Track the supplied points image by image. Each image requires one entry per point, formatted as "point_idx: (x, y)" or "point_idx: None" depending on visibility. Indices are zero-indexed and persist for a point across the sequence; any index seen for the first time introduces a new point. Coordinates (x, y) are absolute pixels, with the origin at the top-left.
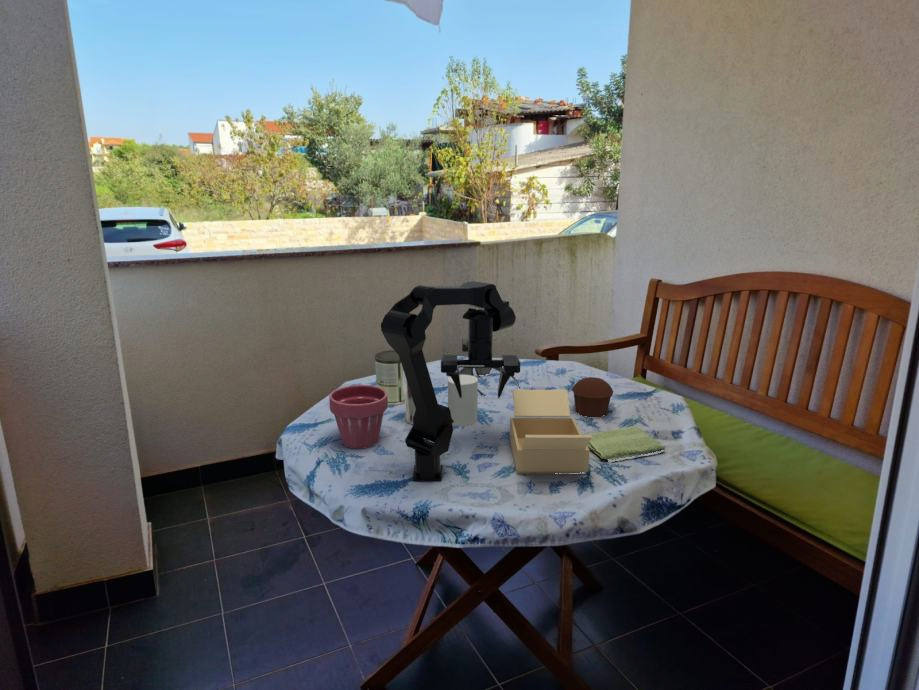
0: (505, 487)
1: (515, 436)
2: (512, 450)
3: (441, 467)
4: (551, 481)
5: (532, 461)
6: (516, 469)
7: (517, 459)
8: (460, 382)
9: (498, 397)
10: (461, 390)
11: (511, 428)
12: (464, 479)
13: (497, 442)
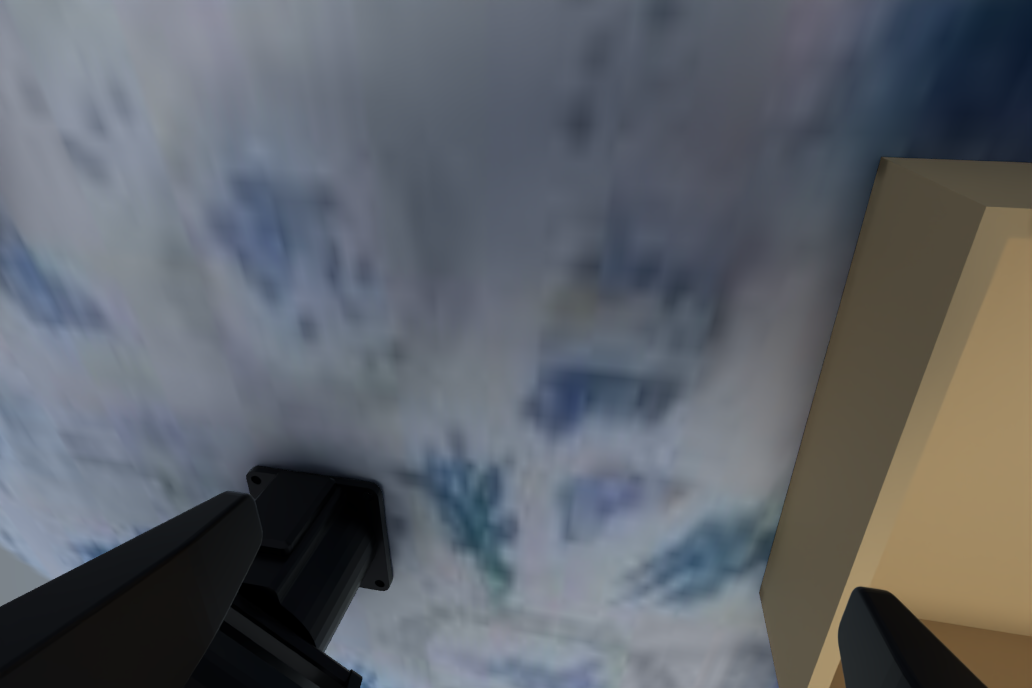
0: (670, 663)
1: (850, 594)
2: (823, 389)
3: (374, 509)
4: None
5: None
6: (766, 589)
7: (777, 671)
8: (23, 666)
9: (846, 652)
10: (182, 587)
11: (904, 340)
12: (491, 583)
13: (751, 211)
